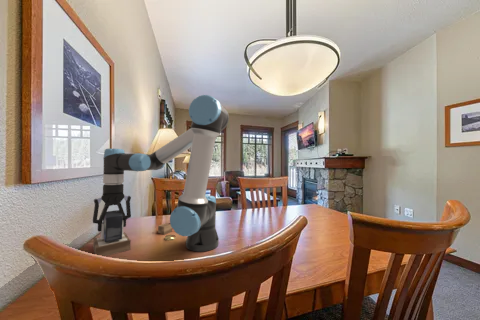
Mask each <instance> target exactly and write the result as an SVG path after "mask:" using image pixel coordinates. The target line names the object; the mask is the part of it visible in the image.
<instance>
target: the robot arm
mask: <svg viewBox="0 0 480 320" xmlns="http://www.w3.org/2000/svg"><path fill="white" fill-rule="evenodd" d="M188 114H189V115H188V116H189V117H190V120H191V126H190V128H189V129H187V130H186V131H185V132H182V133H181V134H180V135H178V136H177V137H176V138H173V139H172V140H171V141H169V142H168V143H166V144H165V145H163V146H161V147H159V148H158V149H156V150H155V151H154V152H152V153H150V154H146V153H142V152H141V153H139V152H136V153H125V150H124V149H123V148H106V149H105V148H104V150H103V151H104V153H103V177H102V183H103V185H102V195H101V197H99V198H98V197H97V198H94V199H93V202H94V207H93V215H92V223H93V224H97V232H98V233H99V232H100V237H101V240H102V239H104V223H103V219H104V217H105V214H106V212H108V209H109V207H110V206H117V208H118V210H119V211H120V212H121V213H122V215H123V221H122V235H123V233H124V228H126V227H127V220H128V219H130V218H132V213H131V211H132V210H131V199H132V196H130V195H125V194H124V181H125V180H124V175H125V171H127V172H130V171H131V172H146V171H158V170H162V169H163V168H164V167H165V165H166V164H167V163H168V162H171V160H174V159H175V158H176V157H179V156H180V155H182V154H183V153H184V152H186V151H188V150H189V149H190V148H191V149H190V154H189V161H188V166H187V171H186V172H187V173H186V177H185V182H184V187H183V188H184V189H183V193H182V194H180V195H179V197H178V200H177V205H176V207H175V208H174V209H173V210H172V211H171V213H170V215H169V216H170V217H169V224H171V227H172V230H173V231H174V232H175V233H176V234H178V235H179V236H181V237H186V240H185V247H186V249H188V250H189V251H193V252H197V253H198V252H200V253H201V252H209V251H211V250H214V249H216V248H217V247H218V246H219V244H220V243H219V240H220V239H219V236H218V232H217V229H216V212H217V209H216V207H217V200H216V199H217V198H216V196H214V195H209V194H208V195H207V194H206V193H207V188H208V183H209V177H210V171H211V165H212V161H213V160H212V159H213V154H214V150H215V143H216V138H217V137H219V136H220V135H221V132H222V131H223V130H224V129H226V127H227V126H228V124H229V120H230V117H229V116H230V115H229V112H228V110H227V109H226V107H224V106H223V105H222V104H221V103H220V100H218V99H217V98H215V97H214V96H211V95H209V94H202V95H199V96H198V97H196V98H194V99H193V100H192V101H191V102H190V105H189V108H188ZM123 199H124V200H125V208H126V209H125V211H126V213H125V211H124V208H123V205H122V201H123ZM102 201H103V202H104V205H103V209H102V211H101V213H100V215H99V207H100V203H101V202H102ZM98 215H99V217H98Z"/></svg>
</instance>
